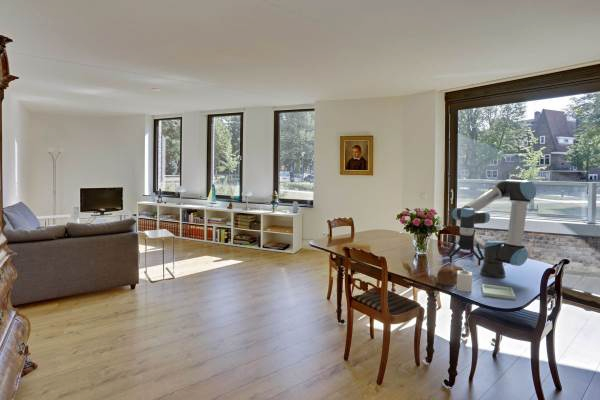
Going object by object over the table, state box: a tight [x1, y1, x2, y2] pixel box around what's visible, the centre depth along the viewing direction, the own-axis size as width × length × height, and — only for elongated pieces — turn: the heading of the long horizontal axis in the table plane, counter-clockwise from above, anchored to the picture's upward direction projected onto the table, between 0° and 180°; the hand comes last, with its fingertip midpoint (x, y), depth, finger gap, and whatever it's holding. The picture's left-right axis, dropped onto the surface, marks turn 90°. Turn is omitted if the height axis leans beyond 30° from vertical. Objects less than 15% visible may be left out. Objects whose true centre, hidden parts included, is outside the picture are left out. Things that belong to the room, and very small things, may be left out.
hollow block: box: [456, 270, 473, 293], centre depth 227 cm, size 8×8×10 cm
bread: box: [436, 264, 464, 287], centre depth 241 cm, size 19×11×10 cm, turn 138°
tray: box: [481, 283, 516, 301], centre depth 220 cm, size 16×16×2 cm
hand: (464, 269), depth 226 cm, fingers open, 13 cm apart
